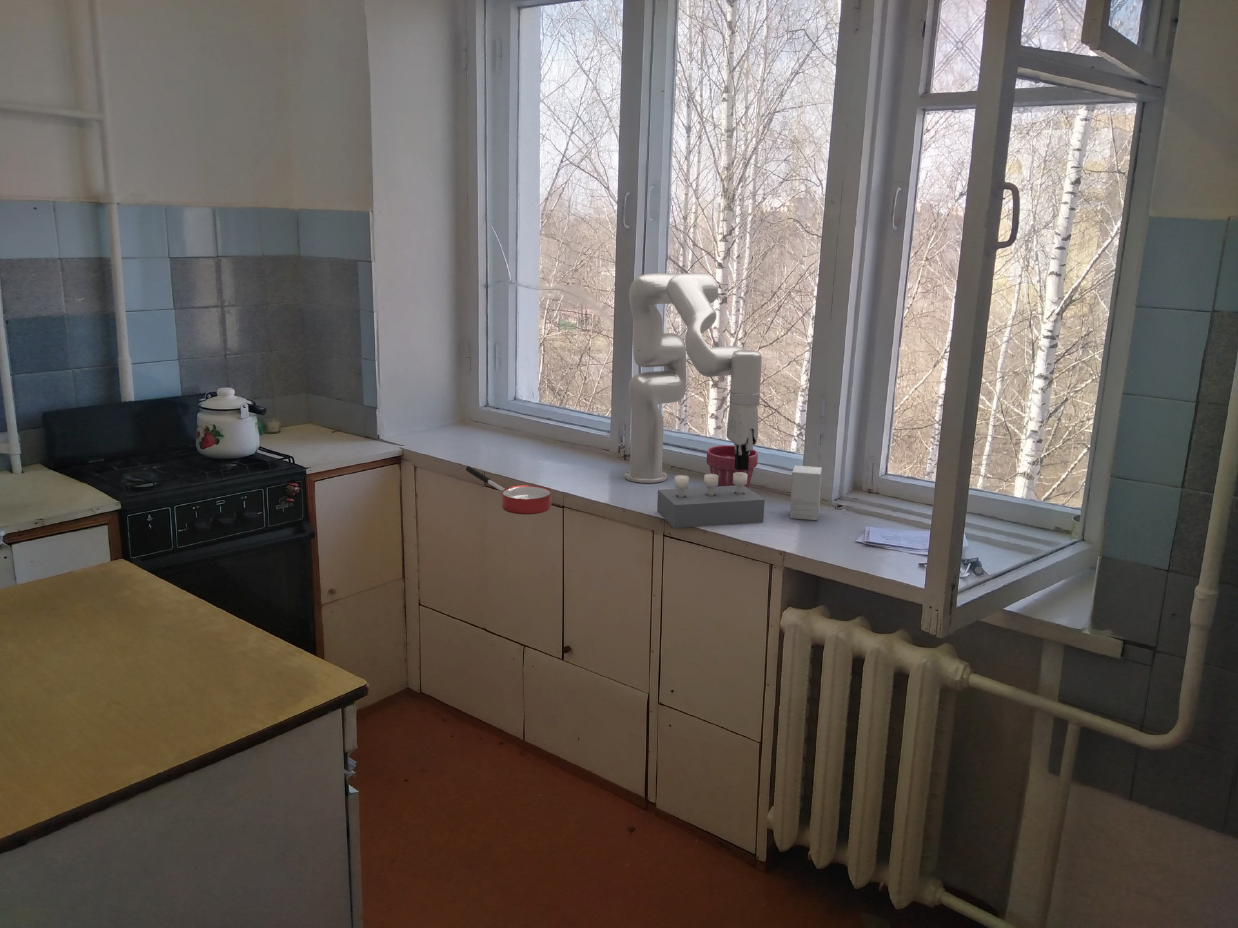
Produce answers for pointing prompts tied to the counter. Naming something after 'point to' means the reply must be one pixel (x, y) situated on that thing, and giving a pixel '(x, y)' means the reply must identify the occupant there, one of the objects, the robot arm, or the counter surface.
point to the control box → (710, 507)
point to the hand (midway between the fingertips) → (741, 469)
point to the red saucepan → (520, 496)
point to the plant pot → (728, 464)
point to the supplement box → (805, 492)
